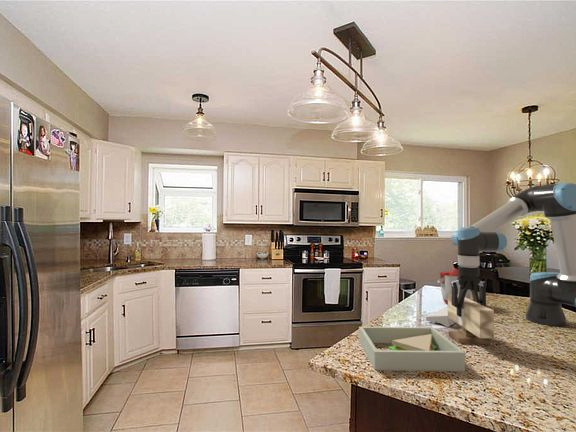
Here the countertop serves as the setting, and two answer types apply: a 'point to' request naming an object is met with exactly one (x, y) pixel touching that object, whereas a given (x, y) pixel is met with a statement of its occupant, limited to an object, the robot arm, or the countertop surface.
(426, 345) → the sandwich
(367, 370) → the countertop surface
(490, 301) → the countertop surface
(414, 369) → the sandwich crate
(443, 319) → the decorative molding
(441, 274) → the citrus juicer
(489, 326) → the beam
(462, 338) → the fulcrum
